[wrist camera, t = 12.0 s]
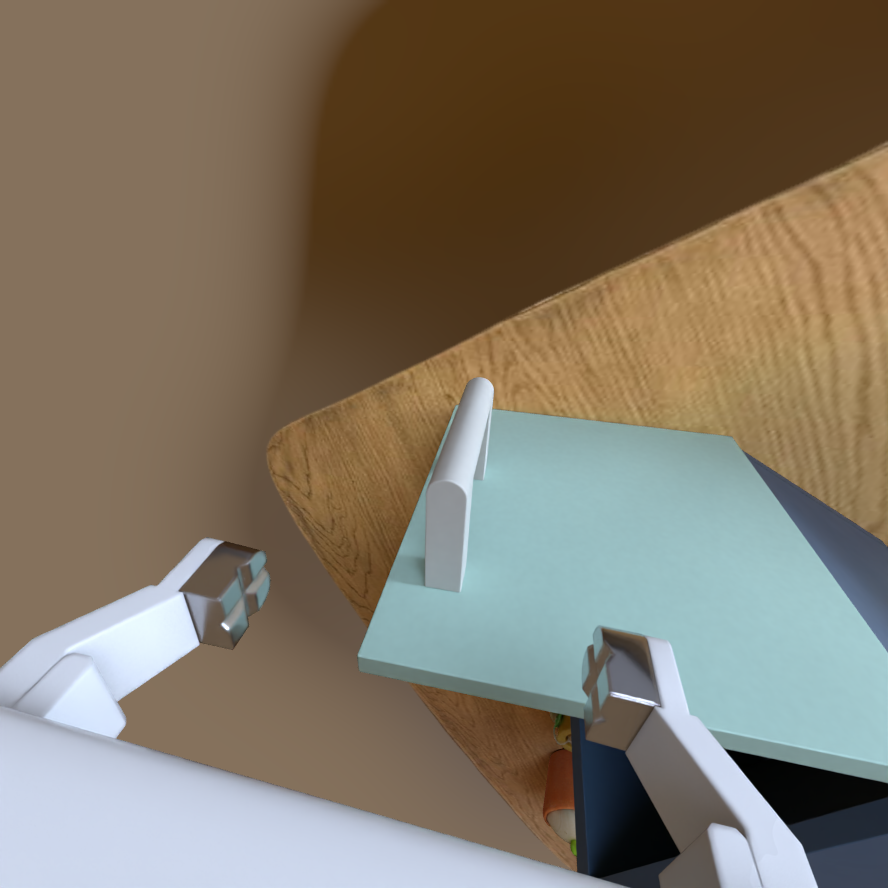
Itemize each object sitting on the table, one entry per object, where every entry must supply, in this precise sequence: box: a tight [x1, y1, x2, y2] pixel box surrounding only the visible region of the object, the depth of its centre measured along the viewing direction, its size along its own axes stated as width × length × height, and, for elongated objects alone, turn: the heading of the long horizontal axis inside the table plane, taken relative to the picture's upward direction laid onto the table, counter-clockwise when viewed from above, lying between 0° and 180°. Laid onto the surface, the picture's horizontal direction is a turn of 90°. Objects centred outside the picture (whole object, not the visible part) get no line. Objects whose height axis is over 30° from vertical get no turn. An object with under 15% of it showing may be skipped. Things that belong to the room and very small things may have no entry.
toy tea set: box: [543, 712, 577, 856], centre depth 49 cm, size 26×16×10 cm, turn 6°
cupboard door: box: [357, 377, 888, 783], centre depth 23 cm, size 7×20×22 cm, turn 88°
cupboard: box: [570, 450, 888, 888], centre depth 29 cm, size 14×20×22 cm
